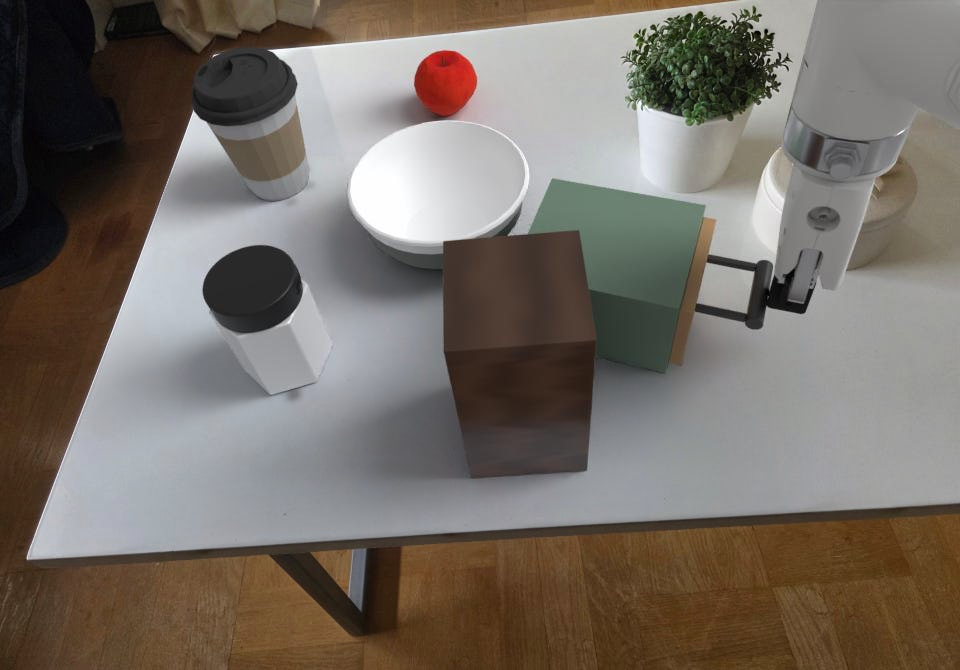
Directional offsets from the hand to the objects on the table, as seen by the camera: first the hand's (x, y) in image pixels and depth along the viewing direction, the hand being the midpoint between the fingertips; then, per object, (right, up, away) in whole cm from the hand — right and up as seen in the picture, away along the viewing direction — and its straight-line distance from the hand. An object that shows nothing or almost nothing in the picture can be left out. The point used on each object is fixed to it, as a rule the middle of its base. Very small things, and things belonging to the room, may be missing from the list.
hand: (786, 304), depth 64 cm
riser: (-23, -11, +2) cm, 25 cm away
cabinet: (-14, 0, +9) cm, 17 cm away
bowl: (-30, +8, +17) cm, 36 cm away
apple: (-31, +26, +30) cm, 51 cm away
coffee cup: (-51, +16, +25) cm, 59 cm away
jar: (-46, -5, +9) cm, 47 cm away
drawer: (-10, 0, +7) cm, 12 cm away
